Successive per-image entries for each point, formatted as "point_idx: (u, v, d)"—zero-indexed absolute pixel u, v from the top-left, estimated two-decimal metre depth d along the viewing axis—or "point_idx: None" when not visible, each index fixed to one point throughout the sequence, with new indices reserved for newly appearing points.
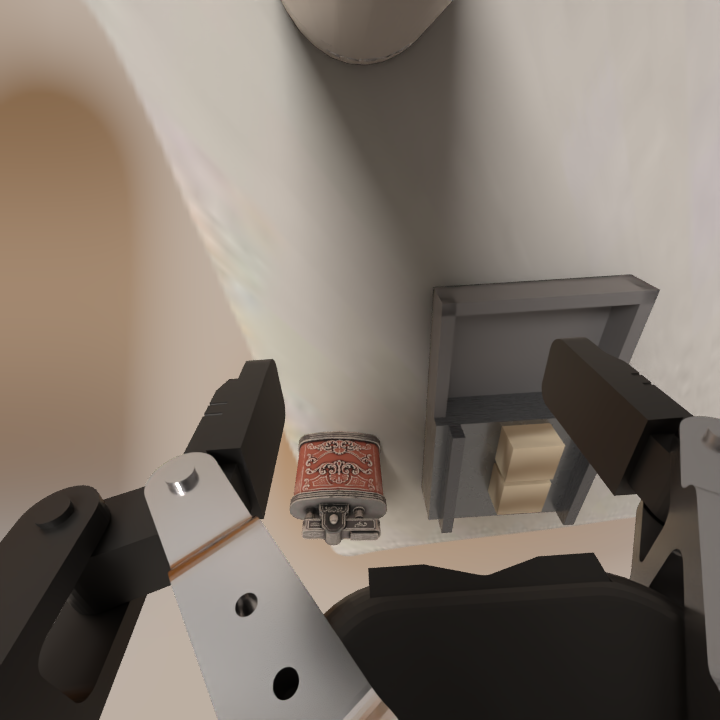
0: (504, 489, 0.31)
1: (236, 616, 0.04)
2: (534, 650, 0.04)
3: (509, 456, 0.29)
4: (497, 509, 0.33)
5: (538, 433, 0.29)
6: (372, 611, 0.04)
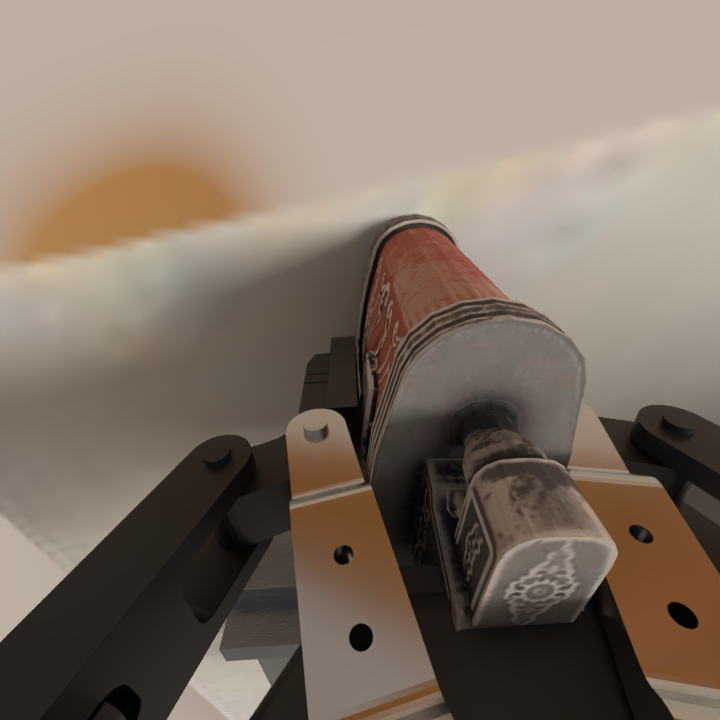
0: None
1: (334, 560, 0.04)
2: (534, 650, 0.04)
3: None
4: None
5: None
6: None
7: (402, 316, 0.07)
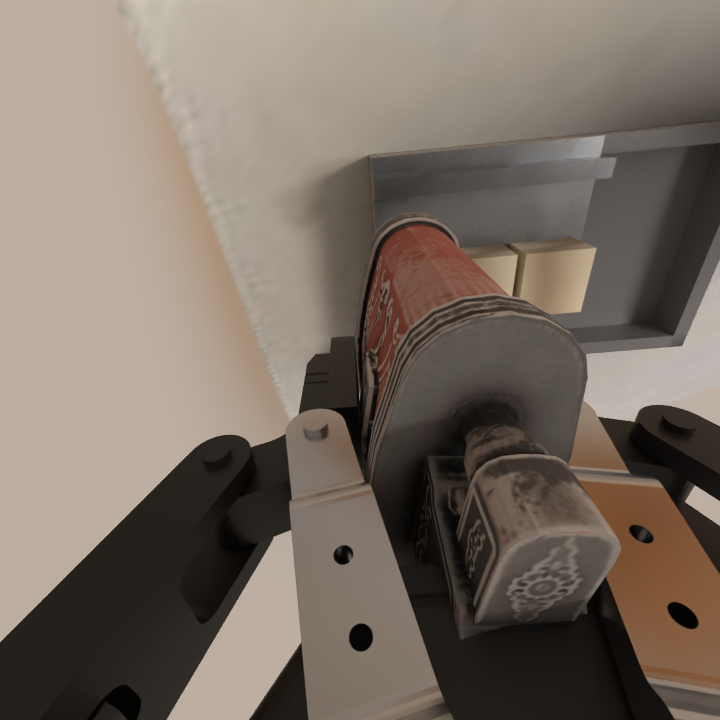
0: (509, 257, 0.21)
1: (334, 560, 0.04)
2: (534, 650, 0.04)
3: (574, 248, 0.21)
4: None
5: None
6: None
7: (402, 313, 0.07)
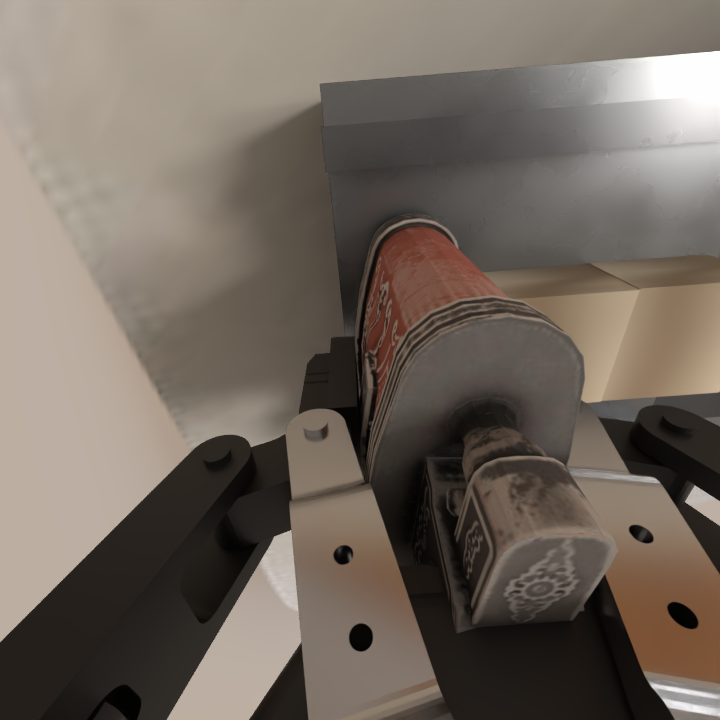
0: (621, 295, 0.10)
1: (334, 560, 0.04)
2: (534, 650, 0.04)
3: None
4: (516, 297, 0.10)
5: None
6: None
7: (401, 315, 0.07)
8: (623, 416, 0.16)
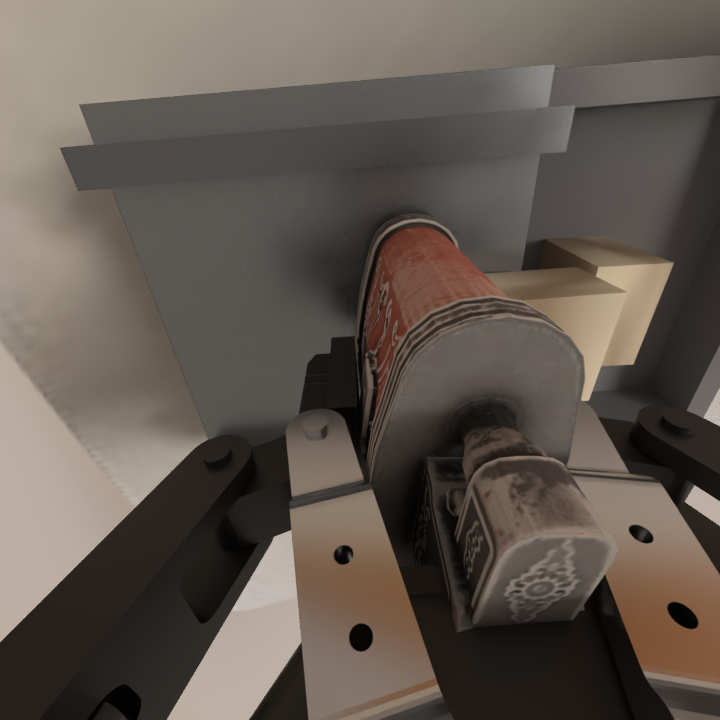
0: (610, 297, 0.11)
1: (334, 560, 0.04)
2: (534, 650, 0.04)
3: (613, 242, 0.15)
4: None
5: None
6: None
7: (402, 315, 0.07)
8: None
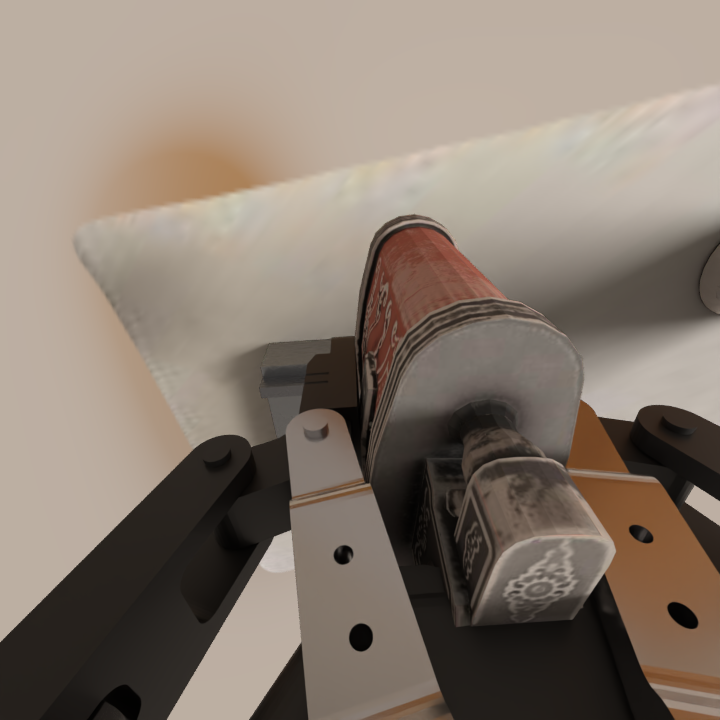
0: None
1: (334, 560, 0.04)
2: (534, 650, 0.04)
3: None
4: None
5: None
6: None
7: (400, 316, 0.07)
8: None
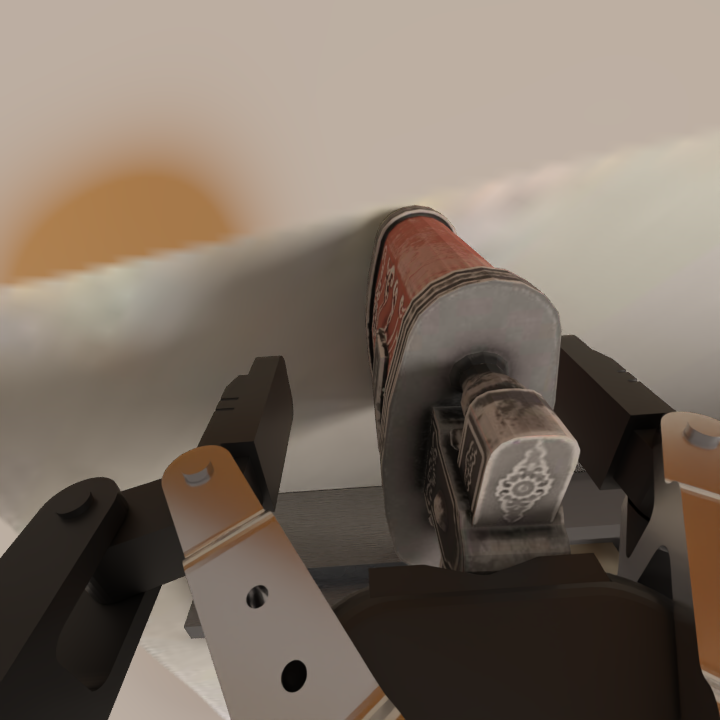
0: None
1: (247, 607, 0.04)
2: (534, 650, 0.04)
3: None
4: None
5: None
6: (372, 611, 0.04)
7: (407, 291, 0.08)
8: None
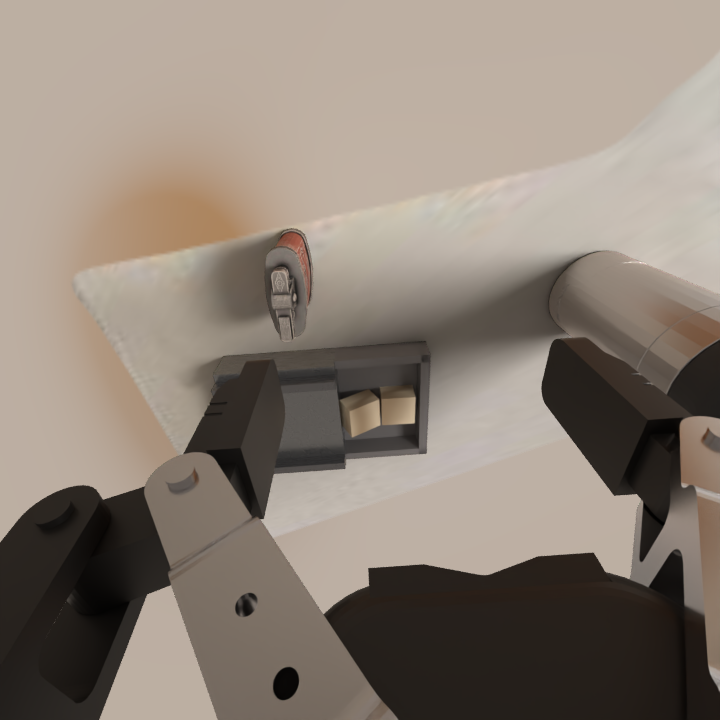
0: (375, 401, 0.43)
1: (238, 615, 0.04)
2: (534, 650, 0.04)
3: (389, 387, 0.45)
4: (353, 409, 0.42)
5: None
6: (372, 611, 0.04)
7: None
8: (335, 452, 0.45)
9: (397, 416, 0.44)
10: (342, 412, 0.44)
